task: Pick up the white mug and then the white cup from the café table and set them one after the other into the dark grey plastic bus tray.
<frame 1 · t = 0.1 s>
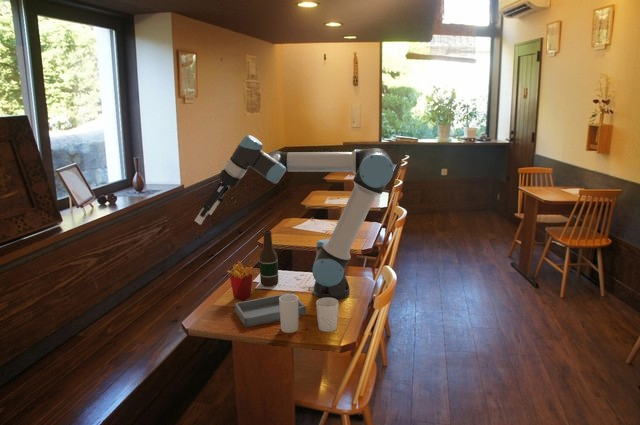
hand: (203, 217, 199), 36 cm above the table, tool tilted 35°, fingers open, 13 cm apart
french fries: (239, 298, 214), on the table
white cup: (327, 328, 188), on the table
tray: (270, 313, 200), on the table
mug: (291, 327, 189), on the table
beer bottle: (269, 284, 228), on the table
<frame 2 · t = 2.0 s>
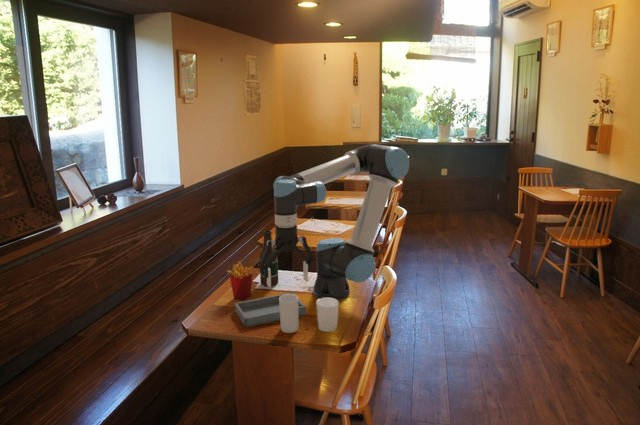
hand: (287, 283, 185), 17 cm above the table, tool pointing down, fingers open, 13 cm apart
nothing on the table moved.
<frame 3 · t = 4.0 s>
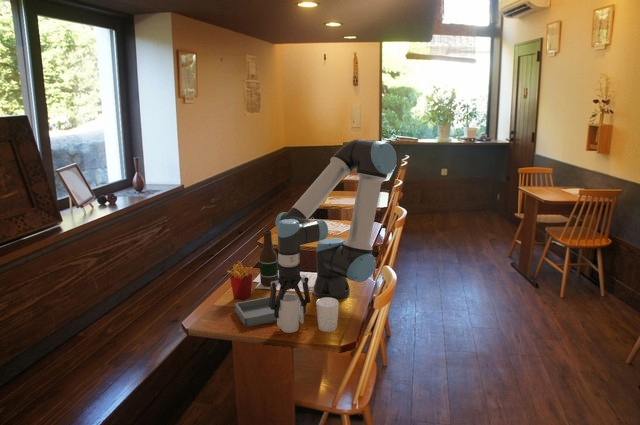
hand: (290, 323, 188), 1 cm above the table, tool pointing down, fingers closed on mug, 8 cm apart
mug: (292, 327, 189), on the table, touching gripper
everything else where it was.
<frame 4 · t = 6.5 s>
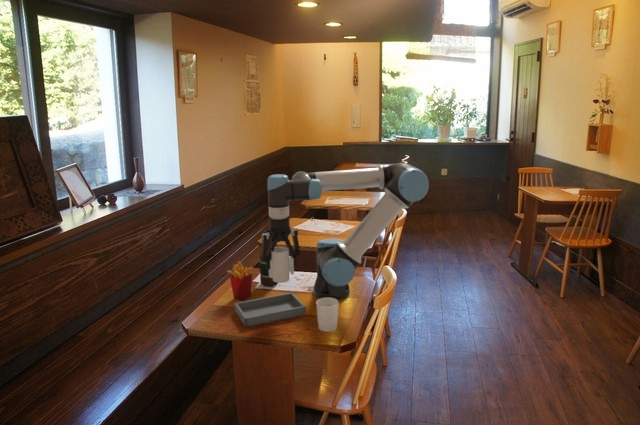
hand: (281, 274, 198), 15 cm above the table, tool pointing down, fingers closed on mug, 8 cm apart
mug: (283, 278, 199), point 13 cm above the table, touching gripper
everything else where it was.
when the fingers open (4 cm above the table, at t = 8.8 s): mug drops 2 cm, resting on tray.
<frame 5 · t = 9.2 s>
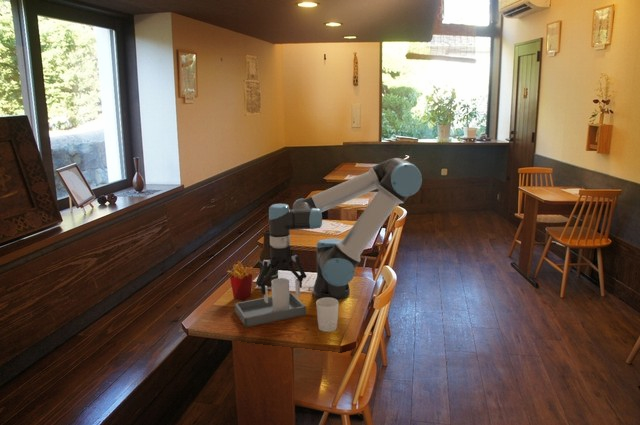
hand: (282, 298, 200), 5 cm above the table, tool pointing down, fingers open, 12 cm apart
mug: (283, 309, 202), resting on tray
everything else where it was.
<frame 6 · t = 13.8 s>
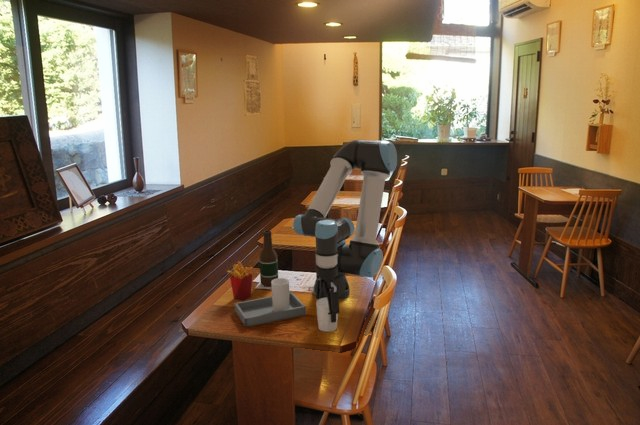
hand: (327, 324, 187), 1 cm above the table, tool pointing down, fingers closed on white cup, 8 cm apart
white cup: (327, 328, 188), on the table, touching gripper
everything else where it was.
when the fingers open (4 cm above the table, at t = 20.0 s): white cup drops 2 cm, resting on tray.
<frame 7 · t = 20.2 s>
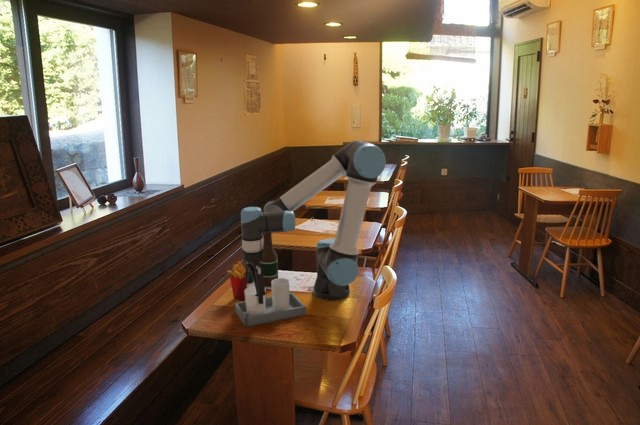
hand: (255, 304, 197), 5 cm above the table, tool pointing down, fingers open, 11 cm apart
white cup: (256, 315, 198), resting on tray
everything else where it was.
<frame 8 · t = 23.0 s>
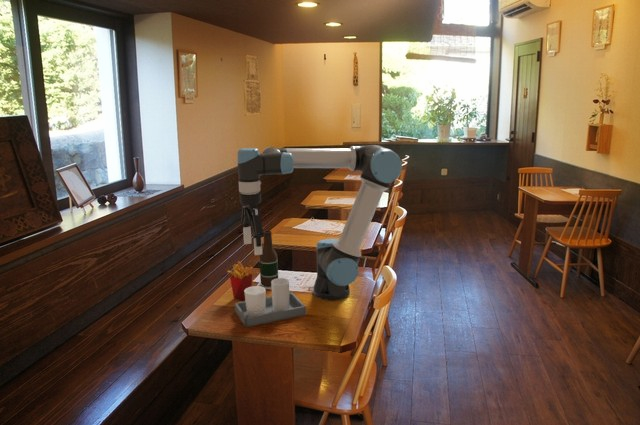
hand: (253, 249, 191), 27 cm above the table, tool pointing down, fingers open, 13 cm apart
nothing on the table moved.
at the end: mug inside the target area on the tray (5.3 cm from its centre), point 0.4 cm above the tray's base; white cup inside the target area on the tray (5.6 cm from its centre), point 0.4 cm above the tray's base; white cup tilted 0° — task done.
